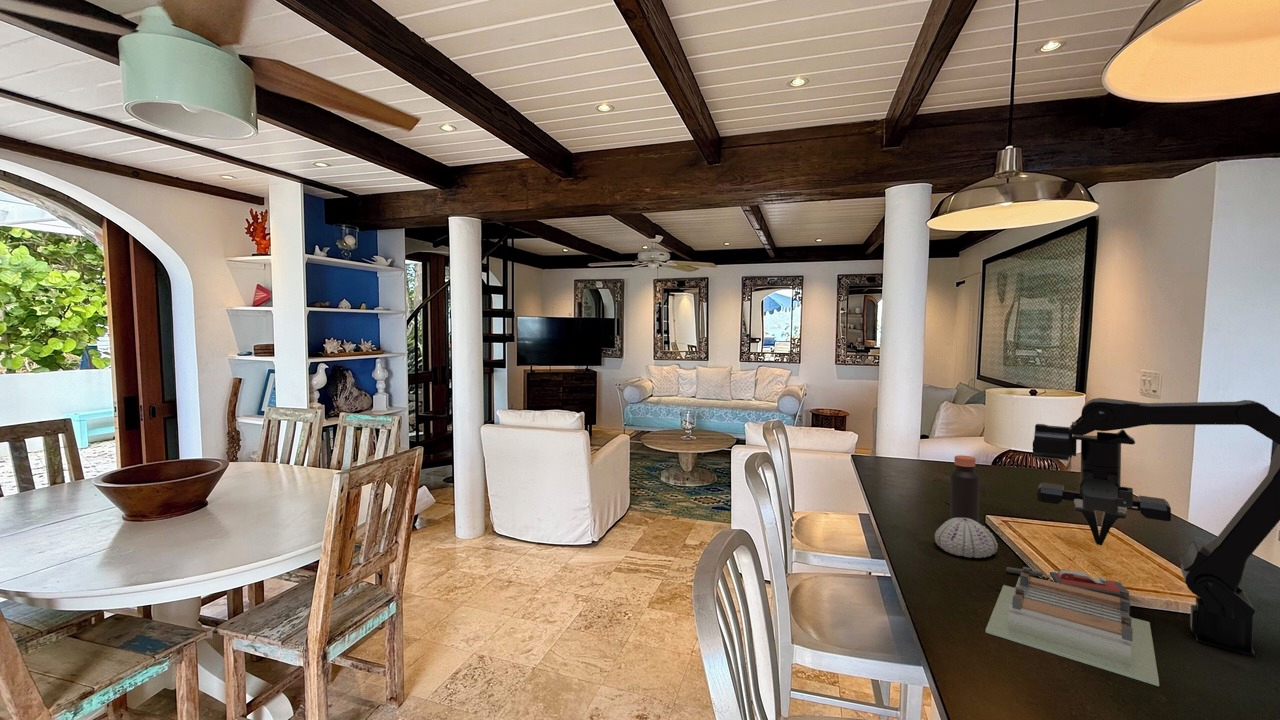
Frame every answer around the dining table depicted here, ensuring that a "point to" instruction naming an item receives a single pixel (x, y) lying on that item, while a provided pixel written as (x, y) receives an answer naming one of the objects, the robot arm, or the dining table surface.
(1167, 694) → the dining table surface
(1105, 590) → the walkie-talkie
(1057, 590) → the strap
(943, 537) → the sea urchin shell
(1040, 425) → the robot arm
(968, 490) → the bottle
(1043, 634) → the heat sink board
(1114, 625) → the strap
